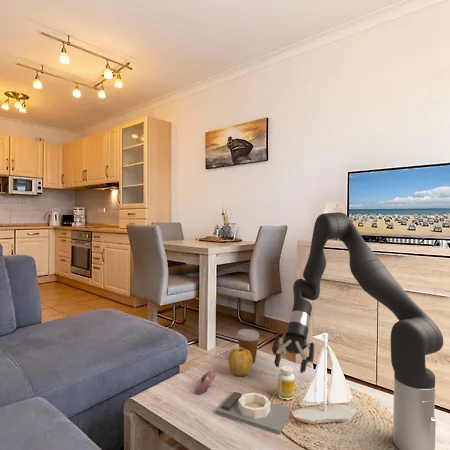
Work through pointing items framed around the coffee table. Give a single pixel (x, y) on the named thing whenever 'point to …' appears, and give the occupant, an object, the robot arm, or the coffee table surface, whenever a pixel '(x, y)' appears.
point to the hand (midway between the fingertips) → (288, 369)
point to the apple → (240, 361)
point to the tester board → (261, 422)
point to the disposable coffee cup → (249, 341)
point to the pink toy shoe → (206, 382)
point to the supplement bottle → (286, 382)
